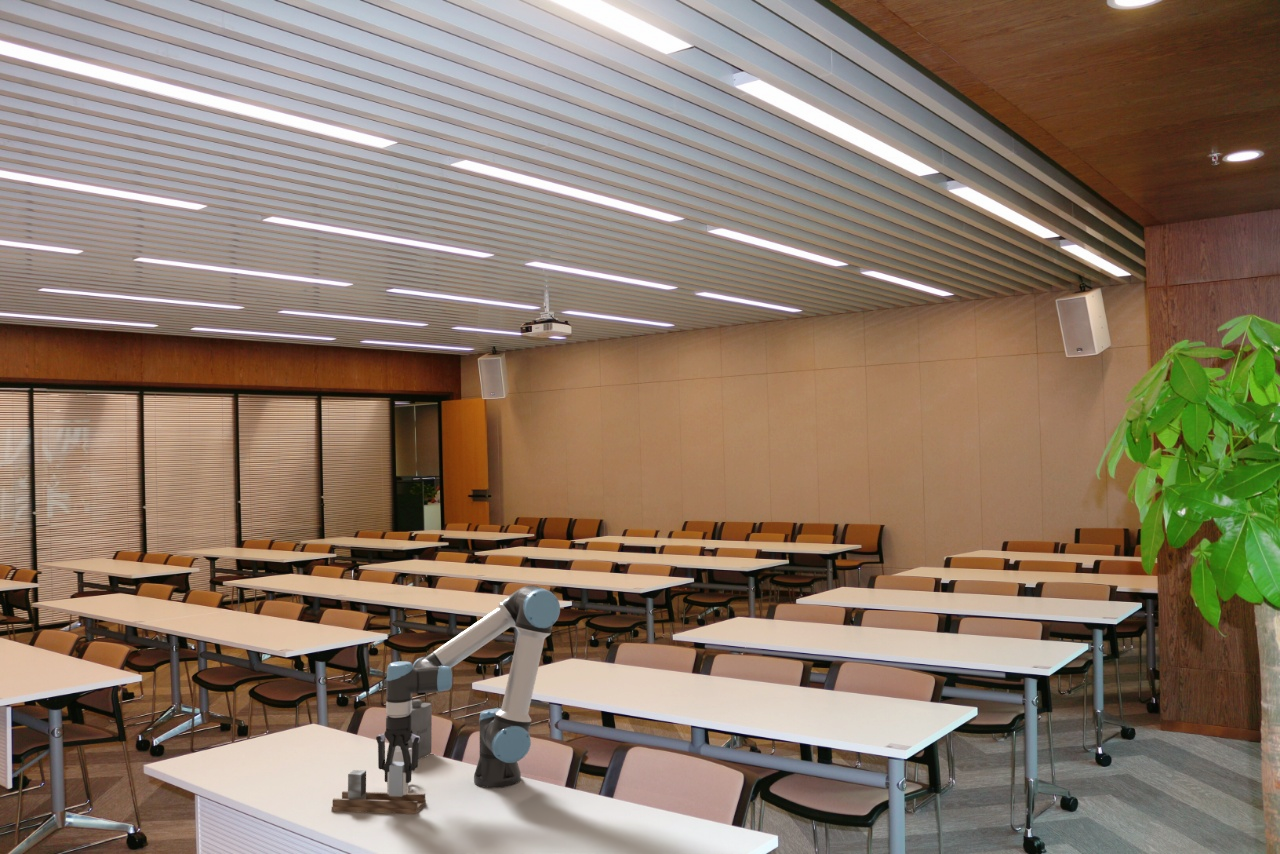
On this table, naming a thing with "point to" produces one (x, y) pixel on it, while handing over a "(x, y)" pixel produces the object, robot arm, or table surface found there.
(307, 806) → the table surface
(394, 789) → the block
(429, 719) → the flask
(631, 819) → the table surface
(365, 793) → the rail
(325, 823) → the table surface
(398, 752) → the mug
